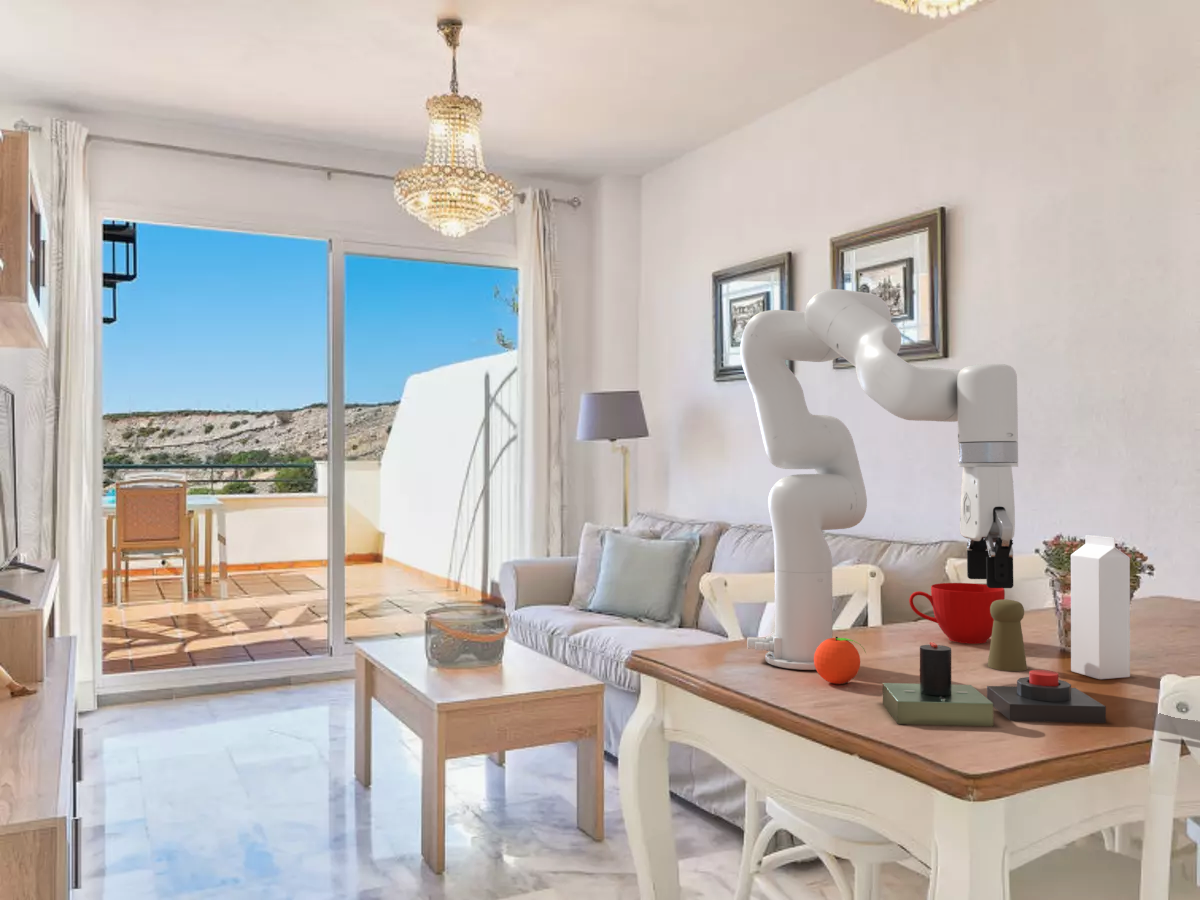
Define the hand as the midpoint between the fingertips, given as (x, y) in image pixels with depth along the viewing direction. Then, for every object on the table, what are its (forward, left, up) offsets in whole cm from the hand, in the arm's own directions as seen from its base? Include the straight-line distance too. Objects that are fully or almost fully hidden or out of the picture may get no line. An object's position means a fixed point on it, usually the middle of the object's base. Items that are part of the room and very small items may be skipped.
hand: (989, 583), depth 129 cm
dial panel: (-7, -1, -18) cm, 19 cm away
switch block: (+8, +2, -18) cm, 19 cm away
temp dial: (-7, -1, -15) cm, 16 cm away
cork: (+12, +30, -18) cm, 37 cm away
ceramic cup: (+10, +53, -18) cm, 57 cm away
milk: (+25, +26, -18) cm, 40 cm away
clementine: (-17, +16, -18) cm, 29 cm away
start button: (+8, +2, -14) cm, 16 cm away
